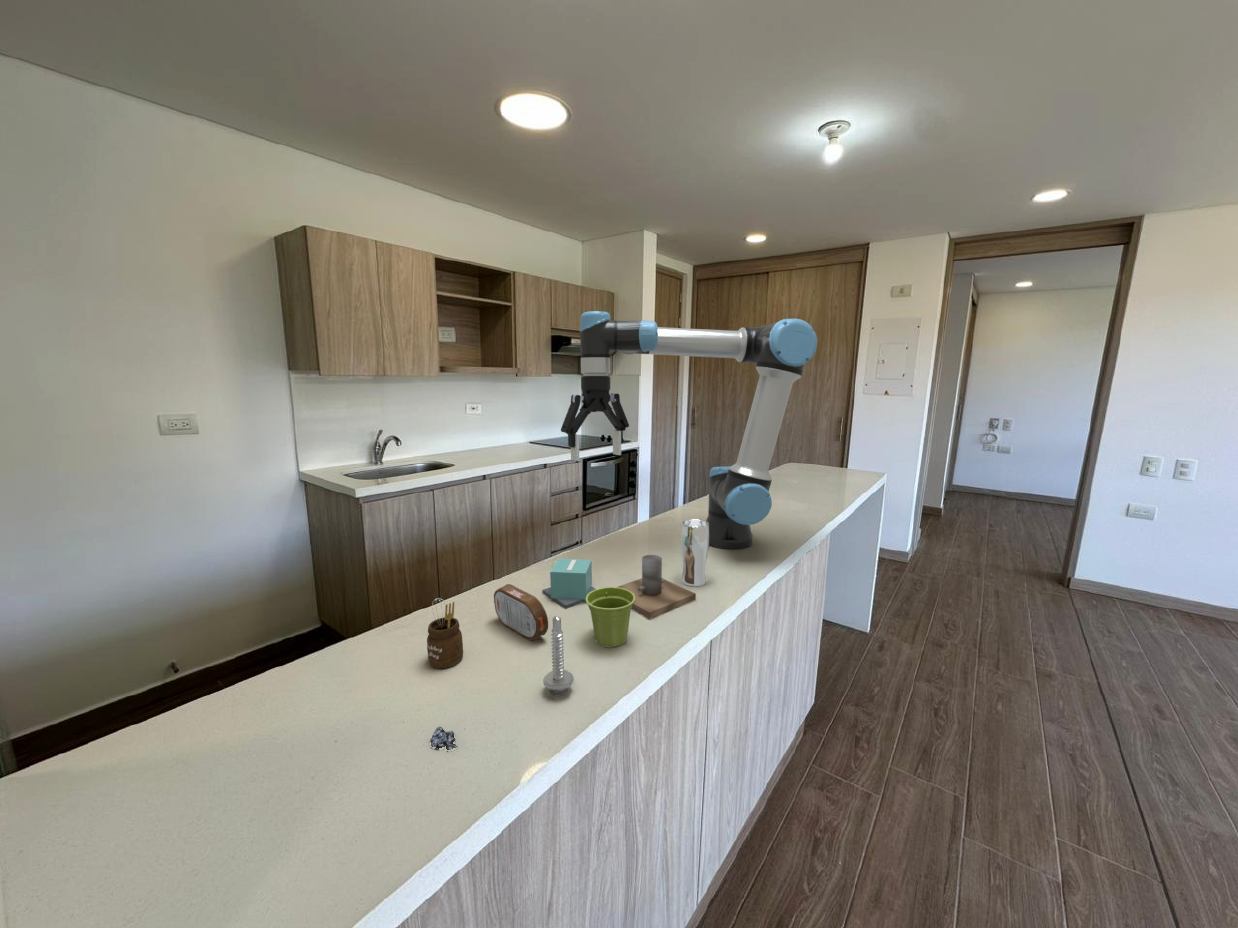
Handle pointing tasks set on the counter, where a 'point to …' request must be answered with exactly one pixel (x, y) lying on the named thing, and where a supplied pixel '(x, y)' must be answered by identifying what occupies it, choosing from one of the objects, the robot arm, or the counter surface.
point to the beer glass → (694, 551)
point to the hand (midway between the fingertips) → (596, 457)
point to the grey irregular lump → (443, 739)
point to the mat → (565, 602)
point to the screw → (558, 663)
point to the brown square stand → (656, 590)
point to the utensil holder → (444, 640)
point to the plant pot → (610, 614)
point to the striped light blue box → (571, 579)
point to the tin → (521, 611)
